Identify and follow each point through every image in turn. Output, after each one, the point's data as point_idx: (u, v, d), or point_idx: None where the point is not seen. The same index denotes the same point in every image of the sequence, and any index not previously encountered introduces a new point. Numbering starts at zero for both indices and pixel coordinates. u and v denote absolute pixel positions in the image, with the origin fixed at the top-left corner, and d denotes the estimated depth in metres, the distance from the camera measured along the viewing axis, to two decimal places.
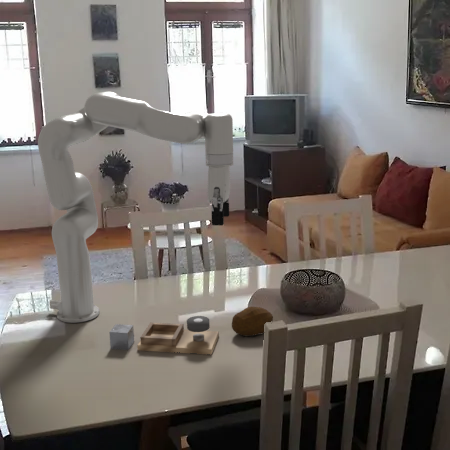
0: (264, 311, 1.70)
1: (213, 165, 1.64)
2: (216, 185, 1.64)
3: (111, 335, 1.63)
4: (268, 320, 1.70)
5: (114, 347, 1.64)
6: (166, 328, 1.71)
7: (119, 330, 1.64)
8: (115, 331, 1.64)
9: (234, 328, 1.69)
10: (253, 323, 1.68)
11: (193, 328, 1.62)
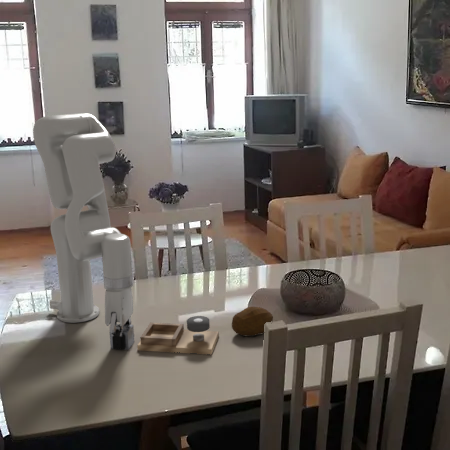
0: (264, 311, 1.70)
1: (110, 289, 1.59)
2: (113, 310, 1.59)
3: (111, 335, 1.63)
4: (268, 320, 1.70)
5: None
6: (166, 328, 1.71)
7: (119, 330, 1.64)
8: None
9: (234, 328, 1.69)
10: (253, 323, 1.68)
11: (193, 328, 1.62)
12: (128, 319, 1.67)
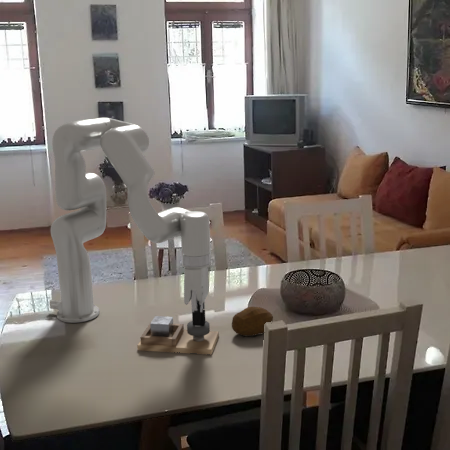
0: (264, 311, 1.70)
1: (189, 267, 1.57)
2: (192, 288, 1.57)
3: (152, 327, 1.64)
4: (268, 320, 1.70)
5: None
6: None
7: (160, 322, 1.65)
8: (156, 322, 1.64)
9: (234, 328, 1.69)
10: (253, 323, 1.68)
11: (193, 333, 1.62)
12: None
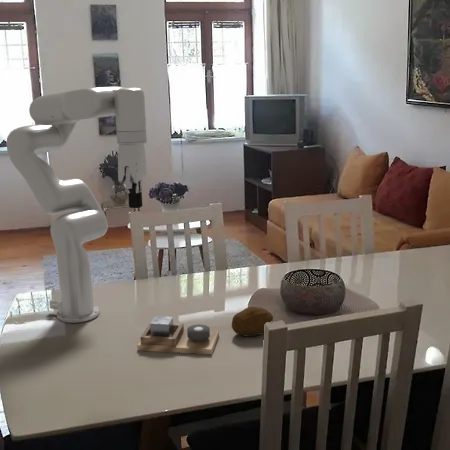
0: (264, 311, 1.70)
1: (123, 143, 1.54)
2: (126, 164, 1.54)
3: (152, 327, 1.64)
4: (268, 320, 1.70)
5: None
6: None
7: (160, 322, 1.65)
8: (156, 322, 1.64)
9: (234, 328, 1.69)
10: (253, 323, 1.68)
11: (193, 337, 1.63)
12: (139, 182, 1.61)
